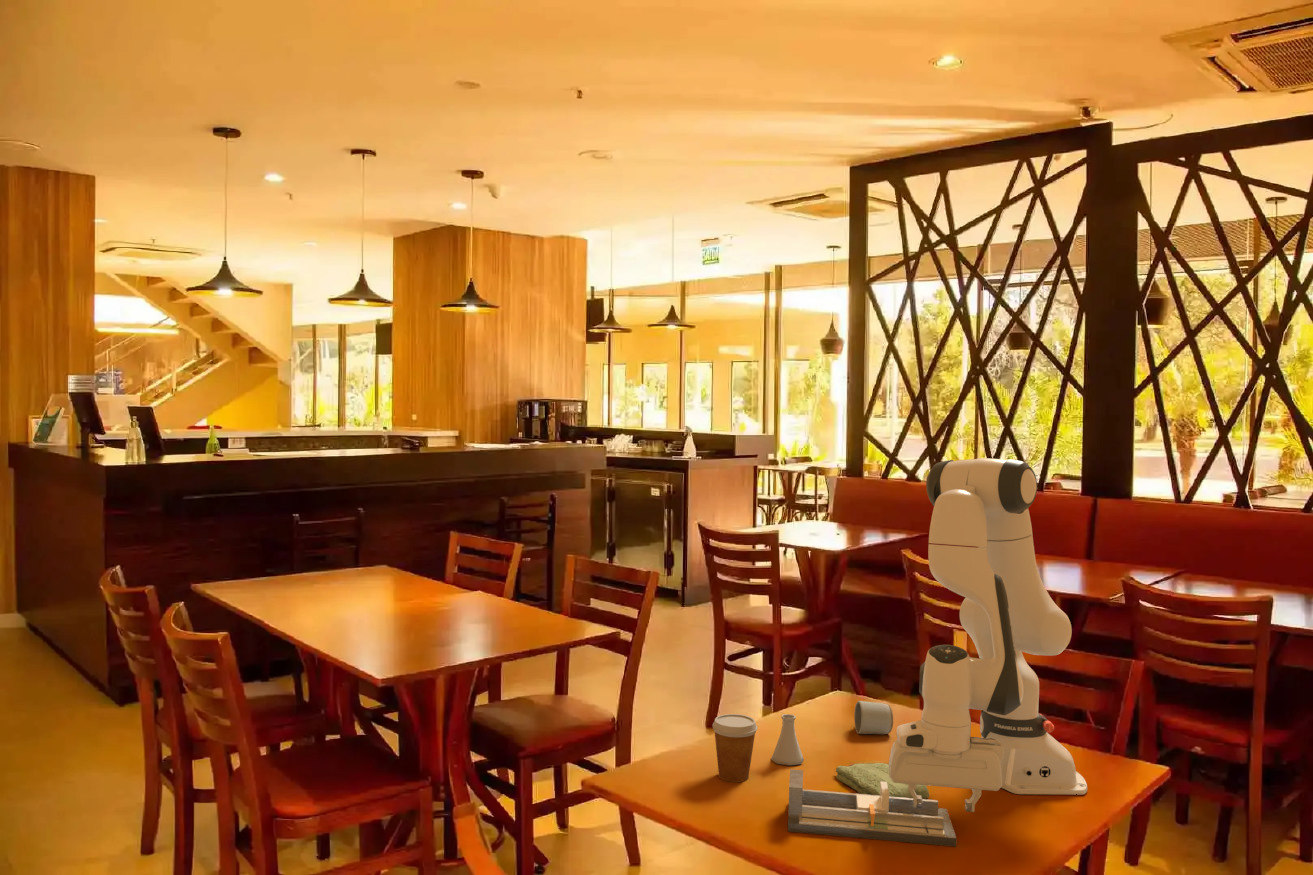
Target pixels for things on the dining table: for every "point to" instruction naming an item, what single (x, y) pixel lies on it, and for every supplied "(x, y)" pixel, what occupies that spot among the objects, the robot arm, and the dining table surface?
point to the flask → (787, 744)
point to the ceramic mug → (873, 718)
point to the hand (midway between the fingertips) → (943, 808)
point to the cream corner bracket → (874, 802)
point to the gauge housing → (866, 817)
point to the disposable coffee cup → (734, 745)
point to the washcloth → (875, 780)
